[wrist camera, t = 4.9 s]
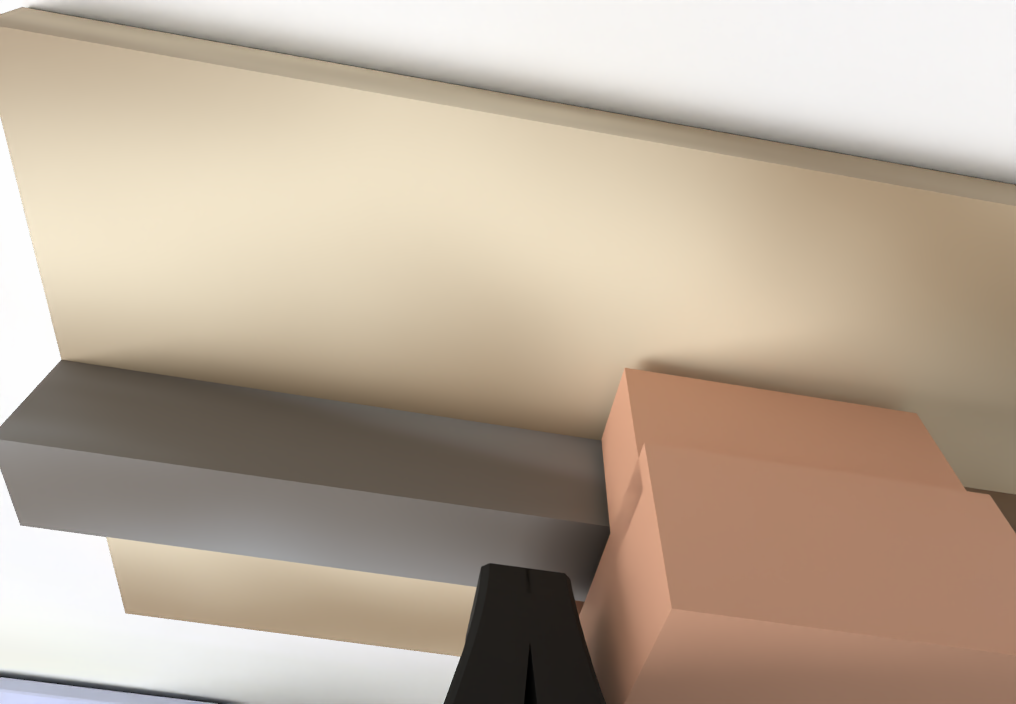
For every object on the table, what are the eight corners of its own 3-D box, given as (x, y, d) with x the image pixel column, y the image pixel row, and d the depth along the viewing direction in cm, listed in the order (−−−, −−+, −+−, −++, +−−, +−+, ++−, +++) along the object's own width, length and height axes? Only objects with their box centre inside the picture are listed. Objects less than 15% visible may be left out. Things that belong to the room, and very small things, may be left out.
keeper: (777, 624, 16) (853, 879, 12) (551, 593, 15) (553, 845, 11) (925, 399, 12) (1107, 667, 8) (629, 352, 12) (671, 608, 8)
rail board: (846, 670, 19) (910, 845, 16) (144, 577, 18) (55, 744, 14) (1209, 219, 11) (1481, 377, 8) (22, 6, 10) (-225, 89, 7)
